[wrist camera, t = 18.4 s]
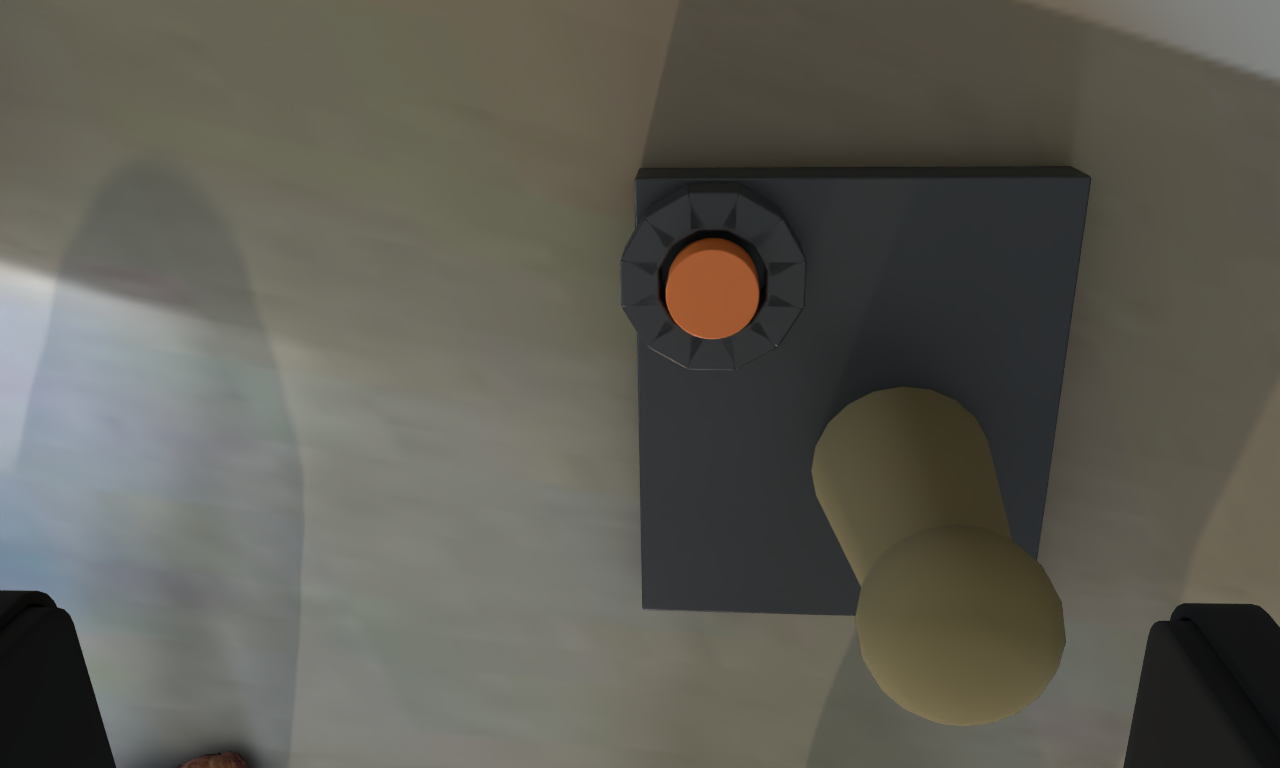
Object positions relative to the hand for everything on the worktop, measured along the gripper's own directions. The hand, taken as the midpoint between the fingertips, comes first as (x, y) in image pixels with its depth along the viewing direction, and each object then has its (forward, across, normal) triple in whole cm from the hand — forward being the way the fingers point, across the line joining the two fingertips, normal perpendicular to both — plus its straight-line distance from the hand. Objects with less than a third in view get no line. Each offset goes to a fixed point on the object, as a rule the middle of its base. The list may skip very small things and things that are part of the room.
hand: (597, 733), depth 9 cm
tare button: (+24, -1, +3) cm, 24 cm away
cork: (+25, -7, +10) cm, 28 cm away
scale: (+27, -5, +8) cm, 29 cm away
